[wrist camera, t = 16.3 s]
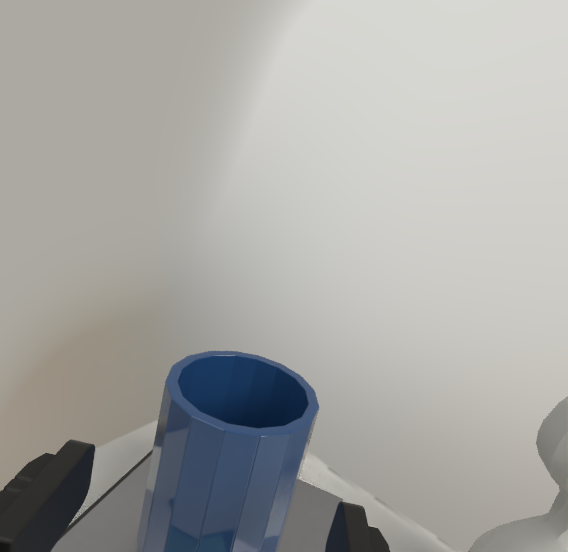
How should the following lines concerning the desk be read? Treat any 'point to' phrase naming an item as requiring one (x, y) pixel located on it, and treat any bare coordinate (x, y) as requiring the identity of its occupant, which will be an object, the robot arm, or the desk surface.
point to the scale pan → (128, 507)
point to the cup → (226, 455)
